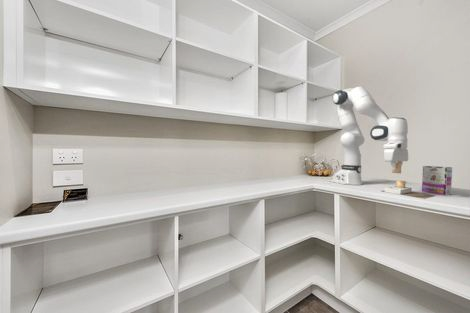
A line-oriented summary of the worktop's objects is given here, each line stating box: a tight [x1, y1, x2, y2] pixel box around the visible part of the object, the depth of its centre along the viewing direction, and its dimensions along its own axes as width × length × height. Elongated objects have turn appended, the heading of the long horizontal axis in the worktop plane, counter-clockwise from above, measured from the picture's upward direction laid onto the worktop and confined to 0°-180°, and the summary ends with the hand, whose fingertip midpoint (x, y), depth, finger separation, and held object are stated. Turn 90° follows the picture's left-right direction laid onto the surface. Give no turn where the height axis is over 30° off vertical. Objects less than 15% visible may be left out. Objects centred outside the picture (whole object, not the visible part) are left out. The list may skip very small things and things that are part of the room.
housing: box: [384, 180, 413, 195], centre depth 112 cm, size 8×14×6 cm, turn 118°
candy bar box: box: [421, 165, 453, 196], centre depth 111 cm, size 11×5×16 cm, turn 13°
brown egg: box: [391, 162, 402, 174], centre depth 110 cm, size 4×4×6 cm
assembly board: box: [381, 189, 436, 200], centre depth 109 cm, size 20×15×1 cm
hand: (396, 169), depth 110 cm, fingers closed on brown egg, 4 cm apart
